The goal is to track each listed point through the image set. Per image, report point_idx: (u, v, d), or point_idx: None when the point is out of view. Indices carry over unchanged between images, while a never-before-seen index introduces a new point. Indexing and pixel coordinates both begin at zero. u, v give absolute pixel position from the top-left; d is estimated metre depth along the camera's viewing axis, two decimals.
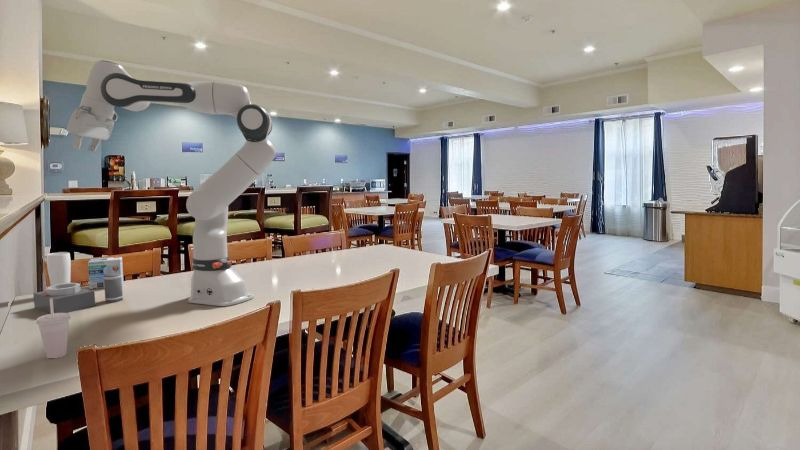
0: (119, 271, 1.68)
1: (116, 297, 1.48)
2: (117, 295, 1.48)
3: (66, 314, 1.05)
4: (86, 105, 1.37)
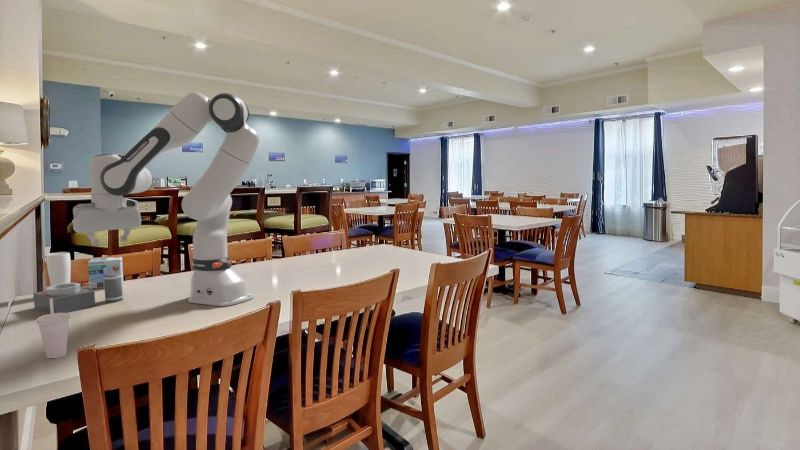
0: (119, 271, 1.68)
1: (116, 297, 1.48)
2: (117, 295, 1.48)
3: (66, 314, 1.05)
4: None
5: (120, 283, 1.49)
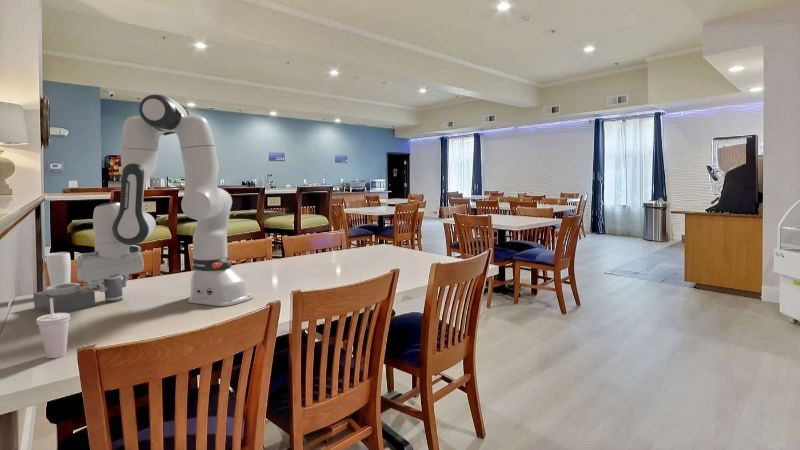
0: None
1: (116, 297, 1.48)
2: (117, 295, 1.48)
3: (66, 314, 1.05)
4: (95, 250, 1.45)
5: (120, 283, 1.49)
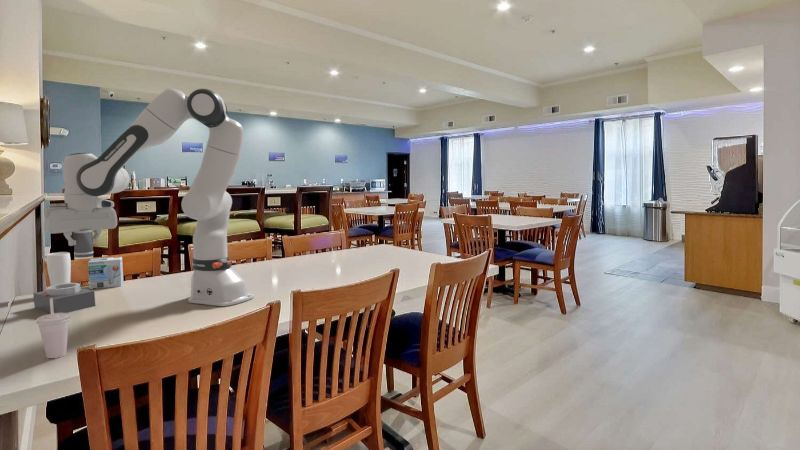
0: (119, 271, 1.68)
1: (86, 252, 1.42)
2: (87, 250, 1.43)
3: (66, 314, 1.05)
4: None
5: (91, 238, 1.44)
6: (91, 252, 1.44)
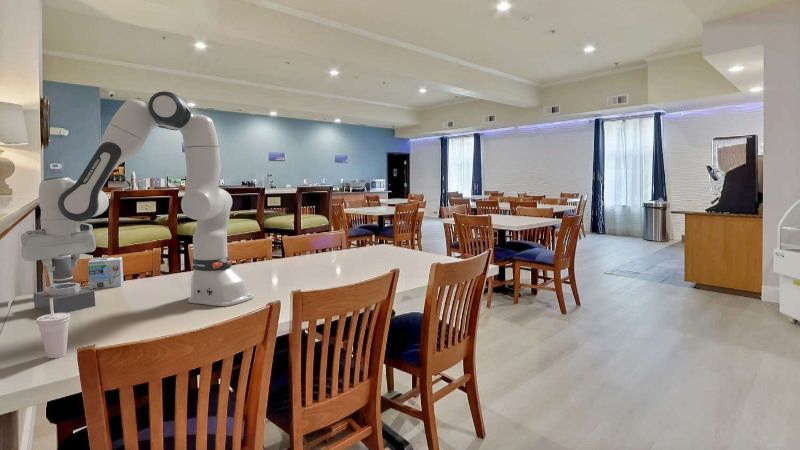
0: (119, 271, 1.68)
1: (65, 278, 1.40)
2: (67, 276, 1.40)
3: (66, 314, 1.05)
4: (41, 227, 1.36)
5: (70, 263, 1.41)
6: (71, 277, 1.41)
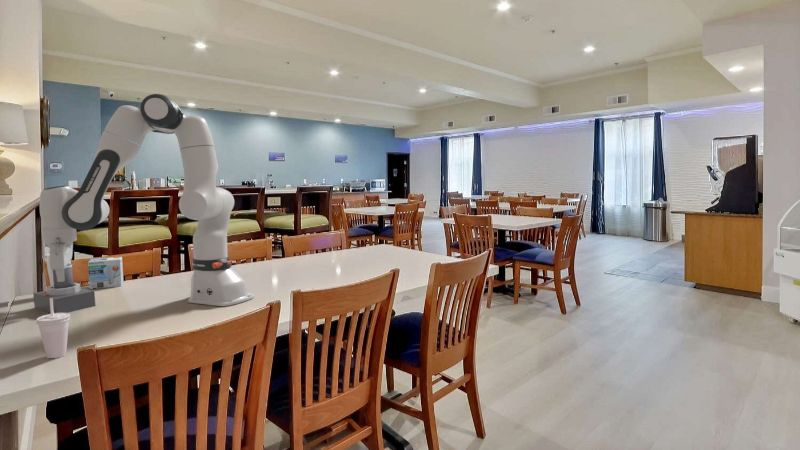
0: (119, 271, 1.68)
1: None
2: None
3: (66, 314, 1.05)
4: (53, 237, 1.35)
5: None
6: None
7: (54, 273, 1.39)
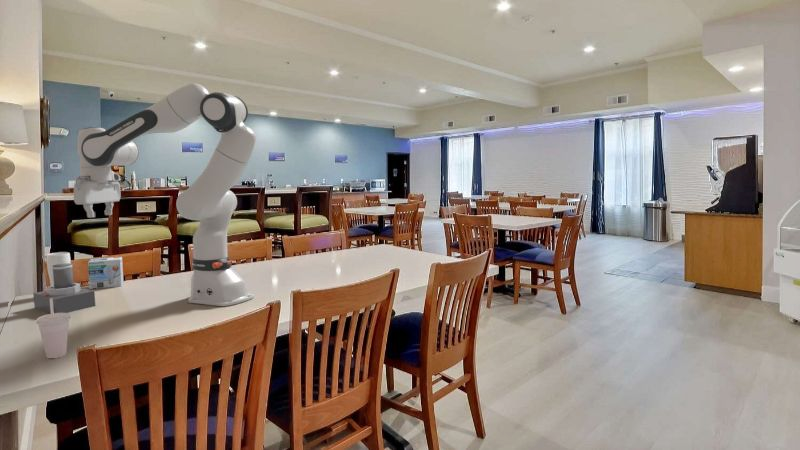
0: (119, 271, 1.68)
1: None
2: None
3: (66, 314, 1.05)
4: (84, 175, 1.44)
5: None
6: None
7: (54, 273, 1.39)
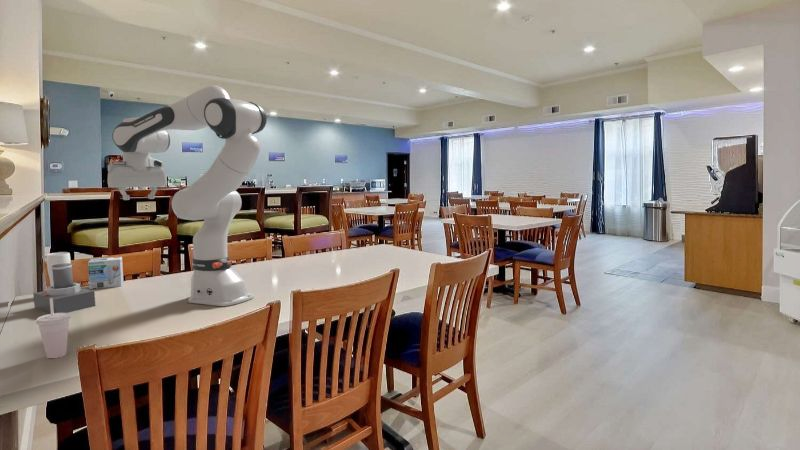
0: (119, 271, 1.68)
1: (72, 286, 1.42)
2: None
3: (66, 314, 1.05)
4: (123, 160, 1.58)
5: None
6: None
7: (54, 273, 1.39)
